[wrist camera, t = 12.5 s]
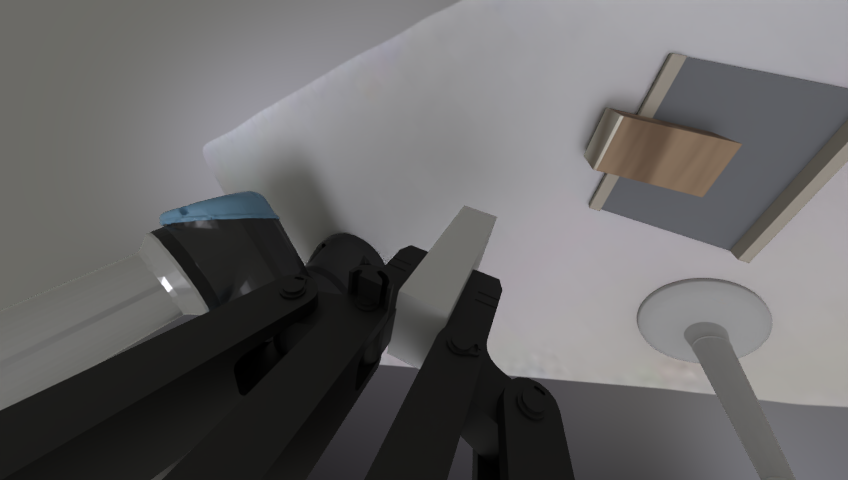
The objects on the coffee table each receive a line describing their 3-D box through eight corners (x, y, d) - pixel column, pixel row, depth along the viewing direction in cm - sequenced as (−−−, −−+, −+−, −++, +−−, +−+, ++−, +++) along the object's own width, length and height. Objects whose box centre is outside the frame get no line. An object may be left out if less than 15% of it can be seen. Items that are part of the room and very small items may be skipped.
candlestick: (783, 352, 37) (1191, 900, 13) (656, 364, 44) (760, 729, 20) (752, 265, 34) (1201, 751, 10) (622, 292, 41) (695, 614, 17)
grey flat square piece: (588, 204, 38) (589, 211, 36) (669, 53, 29) (676, 52, 27) (738, 252, 34) (748, 263, 32) (882, 95, 25) (908, 98, 23)
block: (592, 169, 30) (702, 197, 29) (620, 115, 27) (742, 144, 26) (583, 155, 34) (679, 179, 33) (606, 107, 31) (711, 132, 30)
